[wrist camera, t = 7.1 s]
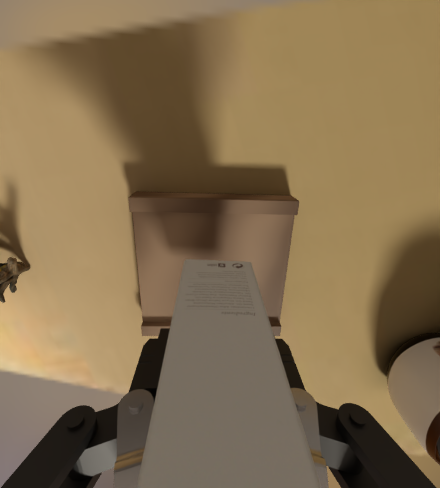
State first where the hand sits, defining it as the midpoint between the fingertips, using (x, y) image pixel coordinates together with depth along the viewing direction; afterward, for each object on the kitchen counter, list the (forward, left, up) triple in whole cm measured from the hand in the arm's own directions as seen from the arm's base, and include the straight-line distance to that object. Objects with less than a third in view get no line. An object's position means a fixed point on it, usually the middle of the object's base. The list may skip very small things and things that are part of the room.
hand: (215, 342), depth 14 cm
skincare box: (0, 0, -4) cm, 4 cm away
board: (0, 0, -10) cm, 10 cm away
